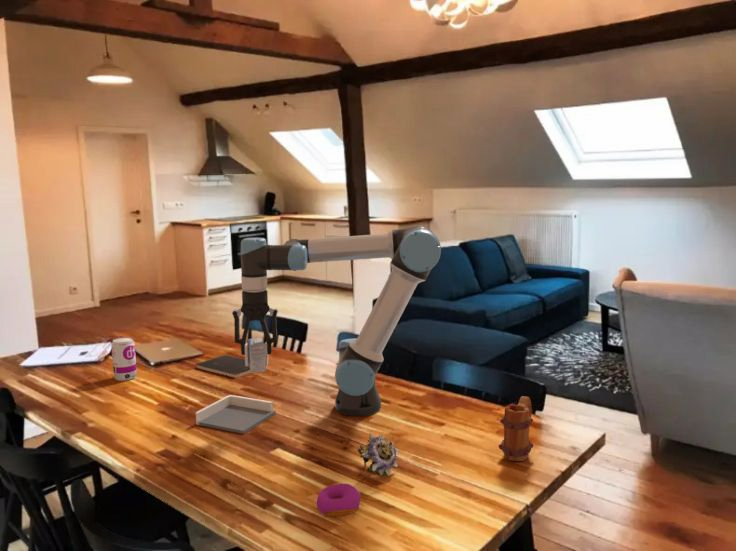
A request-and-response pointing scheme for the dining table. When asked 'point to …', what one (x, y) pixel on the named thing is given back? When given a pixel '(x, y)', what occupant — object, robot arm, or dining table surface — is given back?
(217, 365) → the hardcover book
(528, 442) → the mug
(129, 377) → the supplement can
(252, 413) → the tray
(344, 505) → the donut
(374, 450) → the passion flower
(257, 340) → the medicine box
